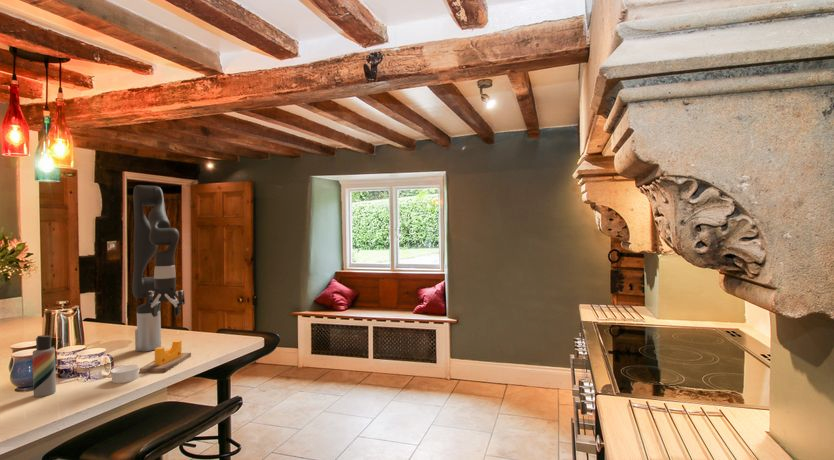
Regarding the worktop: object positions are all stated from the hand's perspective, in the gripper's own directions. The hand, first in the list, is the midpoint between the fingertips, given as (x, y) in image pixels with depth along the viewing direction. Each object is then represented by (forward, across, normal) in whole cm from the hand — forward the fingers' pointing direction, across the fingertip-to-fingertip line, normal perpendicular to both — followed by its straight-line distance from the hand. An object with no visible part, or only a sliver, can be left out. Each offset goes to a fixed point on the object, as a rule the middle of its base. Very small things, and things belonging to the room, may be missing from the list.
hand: (165, 316), depth 174 cm
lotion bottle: (+20, +25, +29) cm, 43 cm away
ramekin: (+20, +6, +17) cm, 27 cm away
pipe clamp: (+18, 0, 0) cm, 18 cm away
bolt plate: (+20, 0, 0) cm, 20 cm away
